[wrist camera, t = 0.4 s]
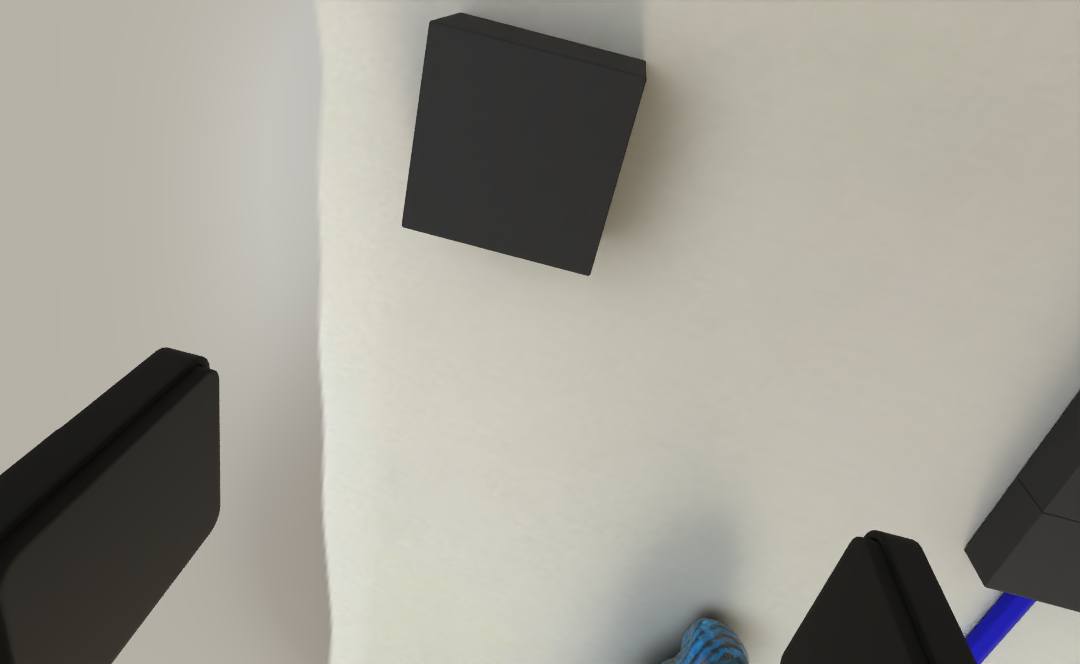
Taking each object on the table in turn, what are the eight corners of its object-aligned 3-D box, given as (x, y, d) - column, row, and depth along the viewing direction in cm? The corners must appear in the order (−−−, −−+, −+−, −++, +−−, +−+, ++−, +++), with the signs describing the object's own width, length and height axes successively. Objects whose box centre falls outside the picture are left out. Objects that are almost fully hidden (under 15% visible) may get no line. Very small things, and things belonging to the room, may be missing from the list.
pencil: (1090, 482, 27) (1105, 500, 26) (1112, 488, 27) (1128, 506, 26) (879, 733, 35) (886, 753, 34) (896, 737, 35) (904, 757, 34)
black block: (458, 11, 22) (429, 19, 19) (646, 60, 22) (647, 77, 19) (430, 194, 25) (400, 227, 22) (596, 238, 25) (589, 277, 21)
